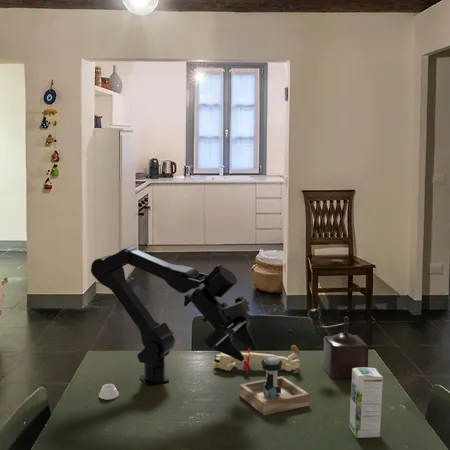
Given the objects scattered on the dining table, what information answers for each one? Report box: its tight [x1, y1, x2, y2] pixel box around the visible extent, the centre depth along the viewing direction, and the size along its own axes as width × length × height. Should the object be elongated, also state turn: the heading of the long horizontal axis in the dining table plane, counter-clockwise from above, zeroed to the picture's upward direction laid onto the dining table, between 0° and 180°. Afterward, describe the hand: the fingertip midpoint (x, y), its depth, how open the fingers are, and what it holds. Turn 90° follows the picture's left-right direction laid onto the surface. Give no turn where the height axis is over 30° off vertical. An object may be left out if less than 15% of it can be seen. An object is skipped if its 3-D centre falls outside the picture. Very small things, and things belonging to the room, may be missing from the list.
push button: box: [261, 355, 282, 399], centre depth 158 cm, size 7×5×10 cm
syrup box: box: [349, 366, 384, 439], centre depth 141 cm, size 6×6×14 cm
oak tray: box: [239, 376, 310, 416], centre depth 158 cm, size 13×13×3 cm
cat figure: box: [211, 344, 300, 374], centre depth 179 cm, size 10×9×25 cm
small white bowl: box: [98, 383, 119, 401], centre depth 161 cm, size 5×3×5 cm
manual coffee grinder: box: [307, 308, 369, 380], centre depth 177 cm, size 16×11×18 cm
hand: (249, 354), depth 160 cm, fingers open, 9 cm apart
